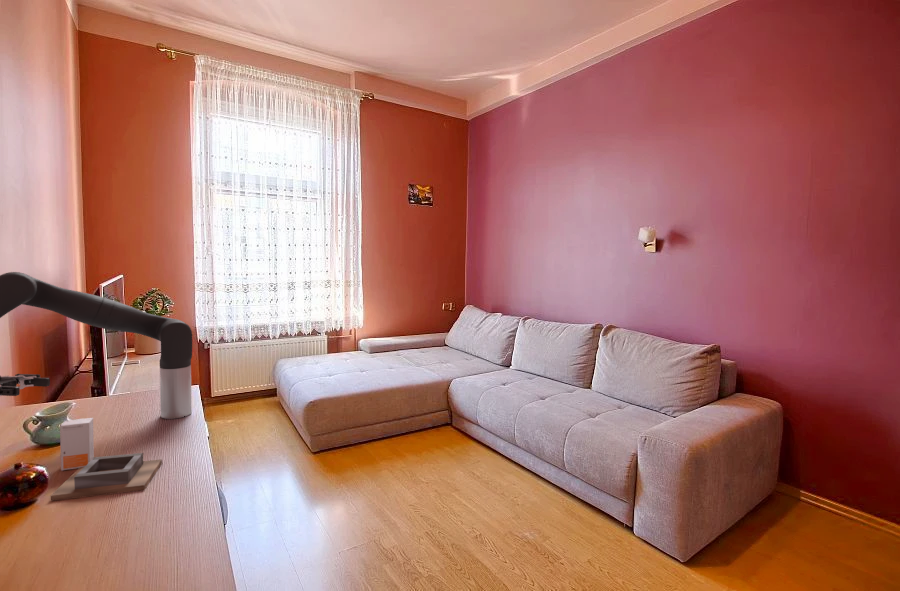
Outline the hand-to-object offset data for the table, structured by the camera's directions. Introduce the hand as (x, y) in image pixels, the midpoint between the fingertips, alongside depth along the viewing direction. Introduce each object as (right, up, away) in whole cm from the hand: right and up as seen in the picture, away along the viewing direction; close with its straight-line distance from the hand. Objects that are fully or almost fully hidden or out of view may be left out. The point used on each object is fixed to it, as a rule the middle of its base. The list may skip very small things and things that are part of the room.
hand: (34, 386), depth 113 cm
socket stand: (+24, -22, -5) cm, 33 cm away
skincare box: (+10, -21, +2) cm, 23 cm away
